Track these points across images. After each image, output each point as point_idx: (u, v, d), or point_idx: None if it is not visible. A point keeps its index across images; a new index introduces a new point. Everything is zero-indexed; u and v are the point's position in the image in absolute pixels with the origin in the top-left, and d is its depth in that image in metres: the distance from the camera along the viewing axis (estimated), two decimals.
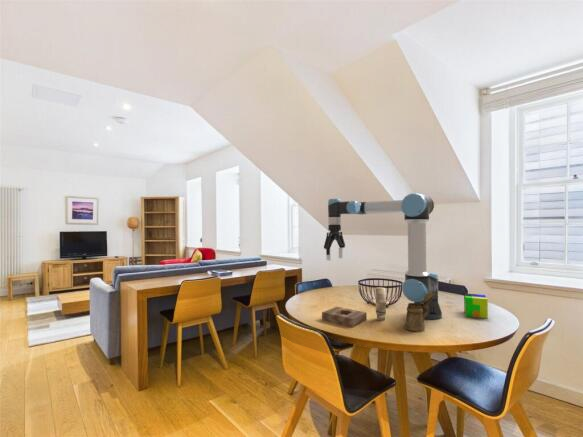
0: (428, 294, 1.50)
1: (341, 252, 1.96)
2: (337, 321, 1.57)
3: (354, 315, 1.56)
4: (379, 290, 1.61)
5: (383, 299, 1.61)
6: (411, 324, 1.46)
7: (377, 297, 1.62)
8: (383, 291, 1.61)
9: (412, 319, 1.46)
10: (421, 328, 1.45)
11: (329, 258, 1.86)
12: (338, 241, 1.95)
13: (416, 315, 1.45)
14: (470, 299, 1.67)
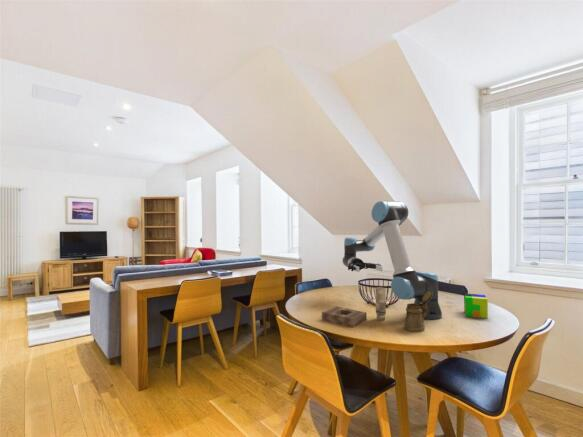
0: (427, 294, 1.50)
1: (378, 266, 1.80)
2: (337, 321, 1.57)
3: (354, 315, 1.56)
4: (379, 290, 1.61)
5: (383, 299, 1.61)
6: (410, 324, 1.46)
7: (377, 297, 1.62)
8: (383, 291, 1.61)
9: (412, 319, 1.46)
10: (421, 328, 1.45)
11: (357, 268, 1.75)
12: (369, 265, 1.86)
13: (415, 315, 1.46)
14: (470, 299, 1.67)
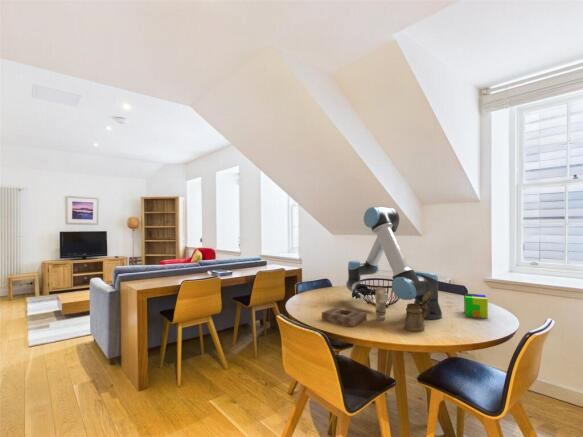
0: (427, 294, 1.50)
1: None
2: (337, 321, 1.57)
3: (354, 315, 1.56)
4: (379, 290, 1.61)
5: (383, 299, 1.61)
6: (410, 324, 1.46)
7: (377, 297, 1.62)
8: (383, 291, 1.61)
9: (412, 319, 1.46)
10: (421, 328, 1.45)
11: (361, 296, 1.69)
12: (374, 292, 1.80)
13: (415, 315, 1.46)
14: (470, 299, 1.67)
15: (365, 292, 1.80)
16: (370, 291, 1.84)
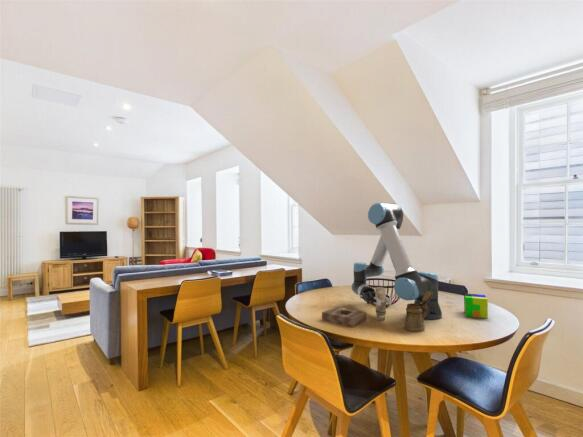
0: (427, 294, 1.50)
1: (386, 299, 1.62)
2: (337, 321, 1.57)
3: (354, 315, 1.56)
4: (379, 290, 1.61)
5: (383, 299, 1.61)
6: (410, 324, 1.46)
7: (377, 297, 1.62)
8: (383, 291, 1.61)
9: (412, 319, 1.46)
10: (421, 328, 1.45)
11: (378, 300, 1.59)
12: None
13: (415, 315, 1.46)
14: (470, 299, 1.67)
15: (372, 295, 1.72)
16: None
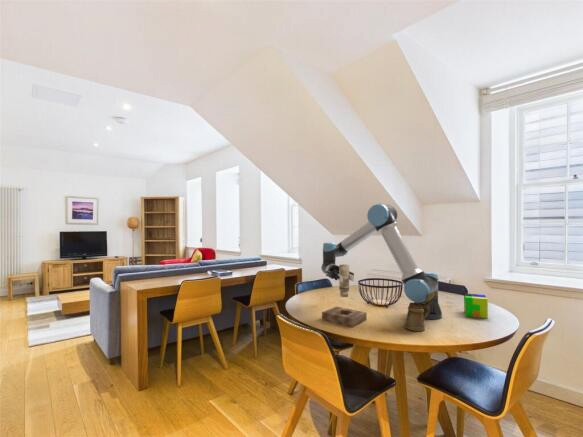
0: (430, 295, 1.49)
1: (349, 275, 1.62)
2: (337, 321, 1.57)
3: (354, 315, 1.56)
4: (342, 266, 1.61)
5: (346, 275, 1.61)
6: (411, 323, 1.46)
7: (340, 274, 1.62)
8: (346, 267, 1.61)
9: (413, 318, 1.46)
10: (421, 328, 1.45)
11: (340, 277, 1.58)
12: None
13: (417, 315, 1.45)
14: (470, 299, 1.67)
15: (338, 273, 1.71)
16: None
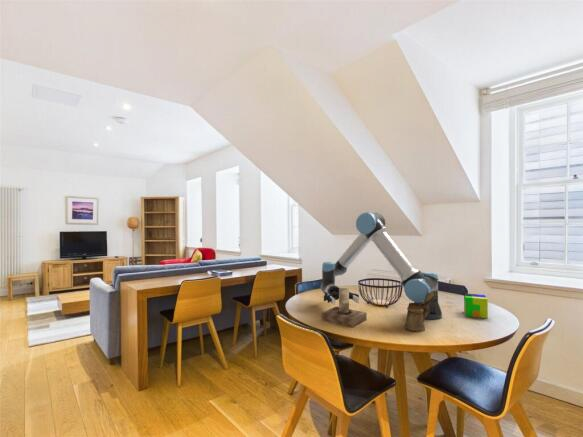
0: (429, 294, 1.49)
1: (355, 297, 1.63)
2: (337, 321, 1.57)
3: (354, 315, 1.56)
4: (342, 290, 1.60)
5: (346, 300, 1.60)
6: (411, 323, 1.46)
7: (340, 298, 1.61)
8: (346, 292, 1.60)
9: (413, 319, 1.45)
10: (421, 328, 1.45)
11: (333, 300, 1.59)
12: None
13: (416, 315, 1.45)
14: (470, 299, 1.67)
15: (337, 295, 1.71)
16: None
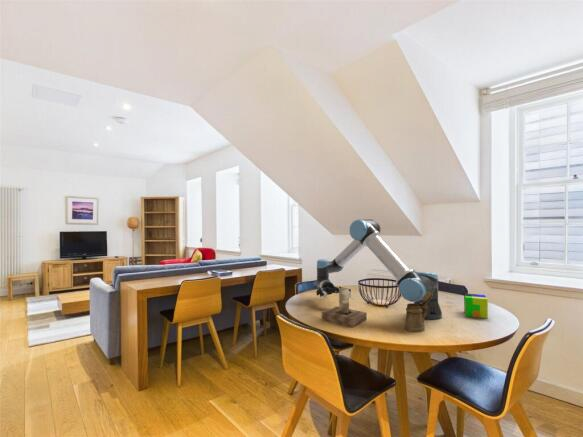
0: (427, 294, 1.50)
1: None
2: (337, 321, 1.57)
3: (354, 315, 1.56)
4: (342, 290, 1.60)
5: (346, 300, 1.60)
6: (410, 324, 1.46)
7: (340, 298, 1.61)
8: (346, 292, 1.60)
9: (412, 319, 1.46)
10: (421, 328, 1.45)
11: (324, 294, 1.72)
12: None
13: (415, 315, 1.46)
14: (470, 299, 1.67)
15: (330, 290, 1.84)
16: None
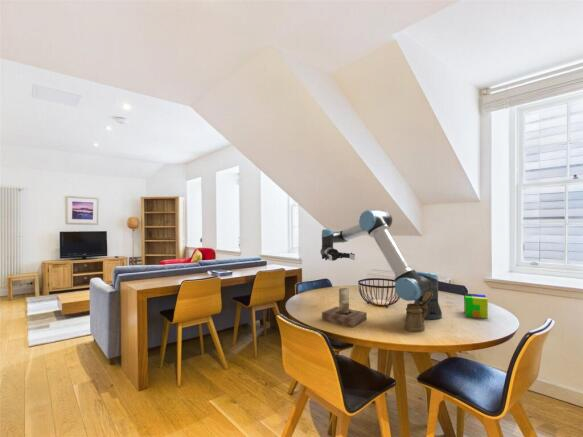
0: (427, 294, 1.50)
1: (351, 255, 1.85)
2: (337, 321, 1.57)
3: (354, 315, 1.56)
4: (342, 290, 1.60)
5: (346, 300, 1.60)
6: (410, 324, 1.46)
7: (340, 298, 1.61)
8: (346, 292, 1.60)
9: (412, 319, 1.46)
10: (421, 328, 1.45)
11: (330, 256, 1.80)
12: (344, 255, 1.91)
13: (415, 315, 1.46)
14: (470, 299, 1.67)
15: (335, 255, 1.92)
16: (340, 255, 1.96)
